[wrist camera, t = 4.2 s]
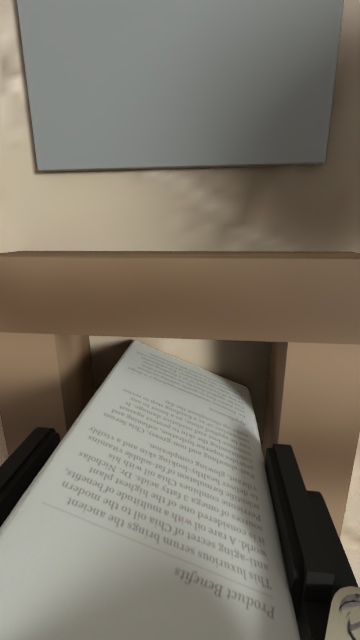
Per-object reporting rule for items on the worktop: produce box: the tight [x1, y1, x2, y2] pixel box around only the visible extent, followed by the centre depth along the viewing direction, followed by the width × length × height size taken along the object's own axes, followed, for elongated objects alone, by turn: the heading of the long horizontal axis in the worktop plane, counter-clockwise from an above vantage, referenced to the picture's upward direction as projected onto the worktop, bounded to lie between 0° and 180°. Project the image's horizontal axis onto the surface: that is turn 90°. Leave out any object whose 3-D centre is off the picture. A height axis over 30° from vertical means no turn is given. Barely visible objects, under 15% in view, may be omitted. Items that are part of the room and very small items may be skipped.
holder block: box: [0, 251, 360, 539], centre depth 14 cm, size 14×14×3 cm
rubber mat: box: [17, 0, 344, 172], centre depth 11 cm, size 10×11×1 cm
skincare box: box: [0, 340, 300, 640], centre depth 9 cm, size 6×4×12 cm
